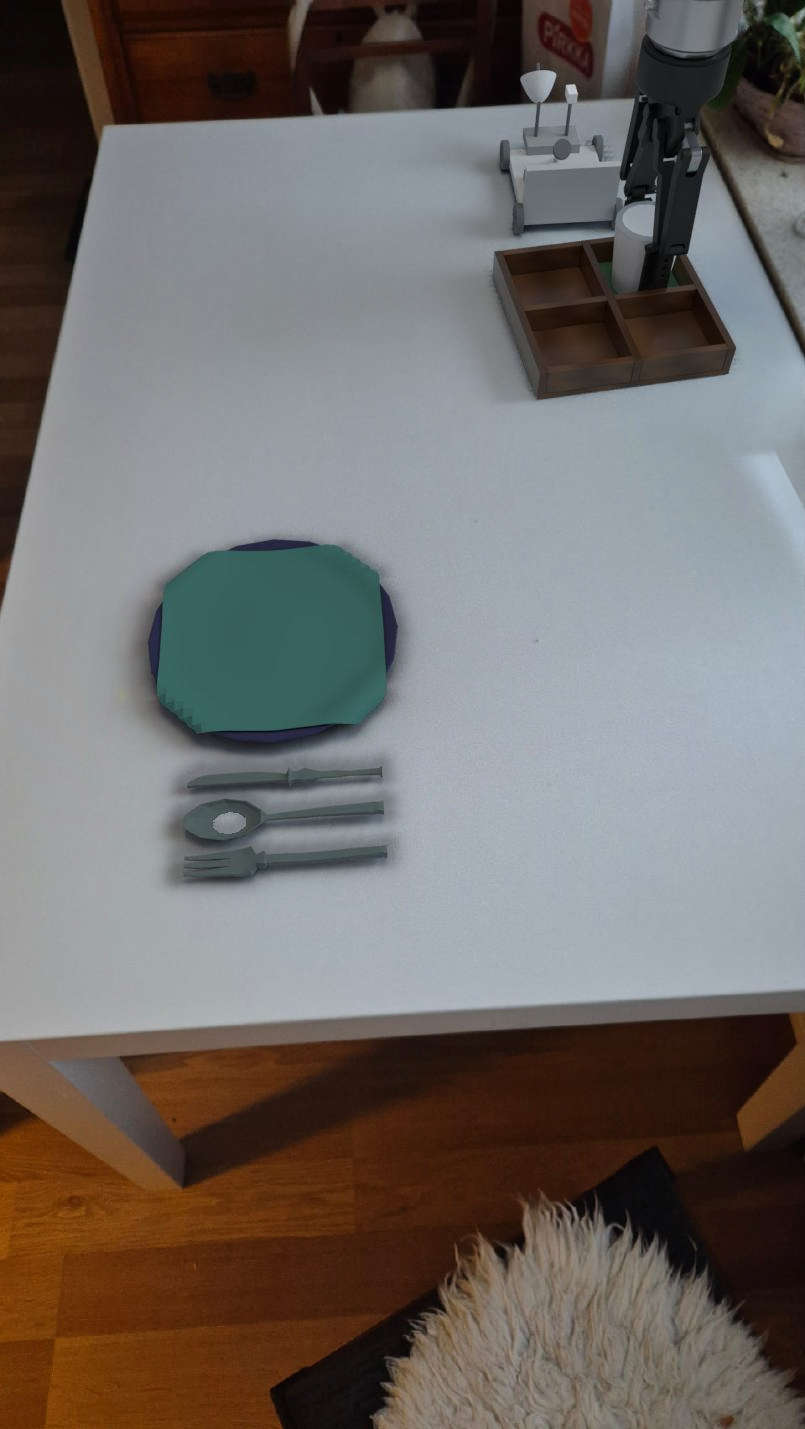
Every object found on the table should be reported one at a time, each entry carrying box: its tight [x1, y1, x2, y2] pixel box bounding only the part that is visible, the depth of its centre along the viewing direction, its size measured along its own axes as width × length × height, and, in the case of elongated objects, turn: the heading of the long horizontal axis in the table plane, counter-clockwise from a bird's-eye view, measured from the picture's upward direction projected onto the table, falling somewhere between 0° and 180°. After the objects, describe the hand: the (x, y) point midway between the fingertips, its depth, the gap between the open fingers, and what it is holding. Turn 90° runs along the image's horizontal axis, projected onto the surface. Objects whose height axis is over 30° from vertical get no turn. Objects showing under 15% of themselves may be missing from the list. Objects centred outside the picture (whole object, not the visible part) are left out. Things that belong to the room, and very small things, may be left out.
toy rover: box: [499, 62, 624, 235], centre depth 111 cm, size 18×10×12 cm
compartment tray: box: [492, 235, 737, 401], centre depth 101 cm, size 19×19×3 cm
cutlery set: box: [147, 538, 399, 878], centre depth 78 cm, size 20×30×2 cm, turn 4°
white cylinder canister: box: [611, 200, 676, 294], centre depth 102 cm, size 7×7×7 cm
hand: (638, 281), depth 104 cm, fingers closed on white cylinder canister, 7 cm apart
